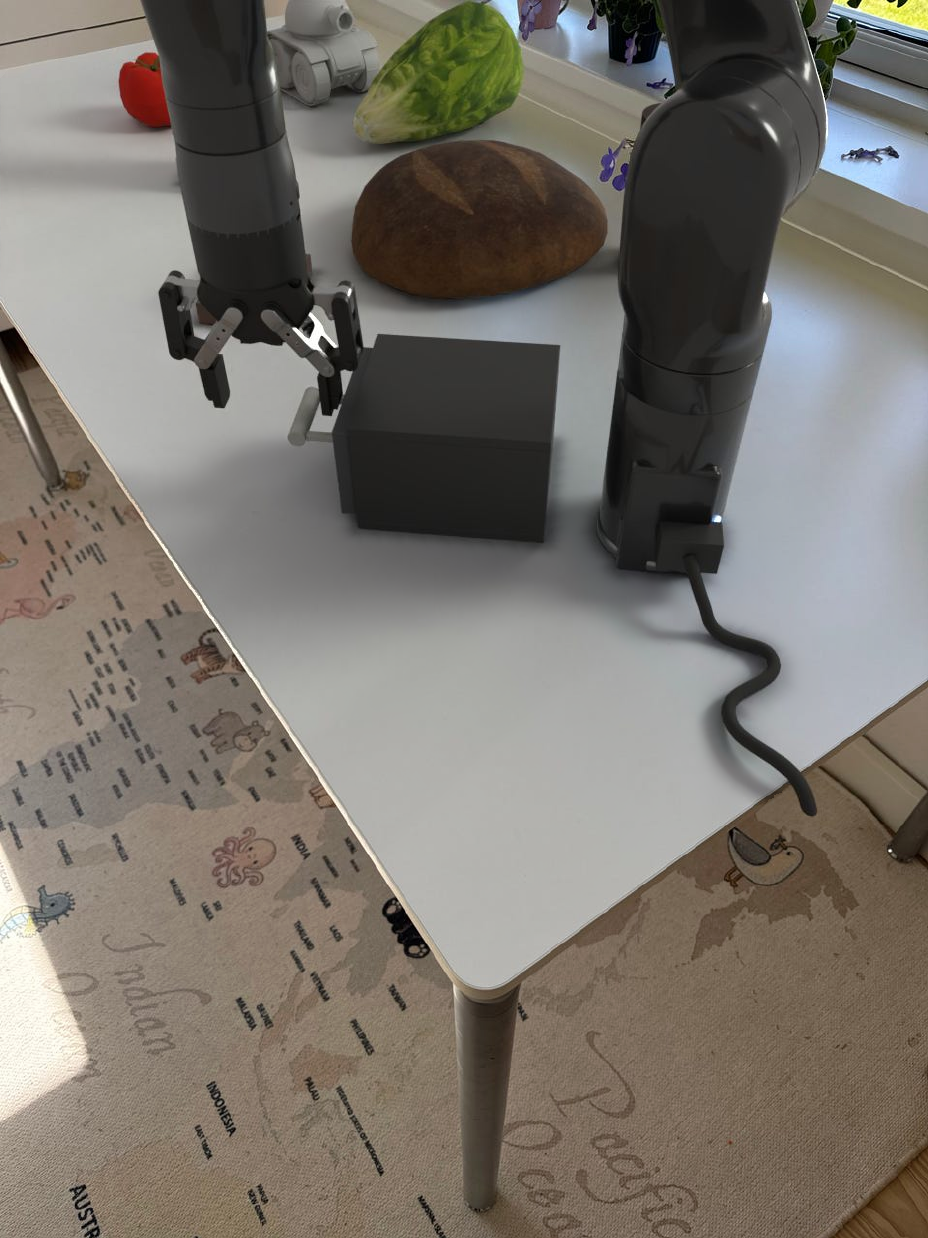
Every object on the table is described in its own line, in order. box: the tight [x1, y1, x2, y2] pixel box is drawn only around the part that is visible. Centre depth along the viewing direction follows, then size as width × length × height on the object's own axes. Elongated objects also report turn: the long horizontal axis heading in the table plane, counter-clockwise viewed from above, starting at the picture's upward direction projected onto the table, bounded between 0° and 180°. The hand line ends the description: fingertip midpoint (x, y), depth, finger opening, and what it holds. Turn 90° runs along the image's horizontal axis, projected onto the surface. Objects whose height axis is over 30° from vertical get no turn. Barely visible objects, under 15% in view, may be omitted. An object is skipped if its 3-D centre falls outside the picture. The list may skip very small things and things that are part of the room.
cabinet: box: [347, 333, 561, 544], centre depth 79 cm, size 15×13×10 cm
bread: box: [350, 139, 609, 299], centre depth 107 cm, size 28×27×9 cm
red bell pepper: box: [118, 51, 172, 128], centre depth 131 cm, size 9×9×8 cm
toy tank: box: [267, 0, 381, 107], centre depth 136 cm, size 15×11×13 cm
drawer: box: [287, 346, 373, 515], centre depth 79 cm, size 18×11×8 cm, turn 83°
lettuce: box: [352, 0, 525, 145], centre depth 126 cm, size 14×23×13 cm, turn 126°
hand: (276, 406), depth 79 cm, fingers open, 8 cm apart
